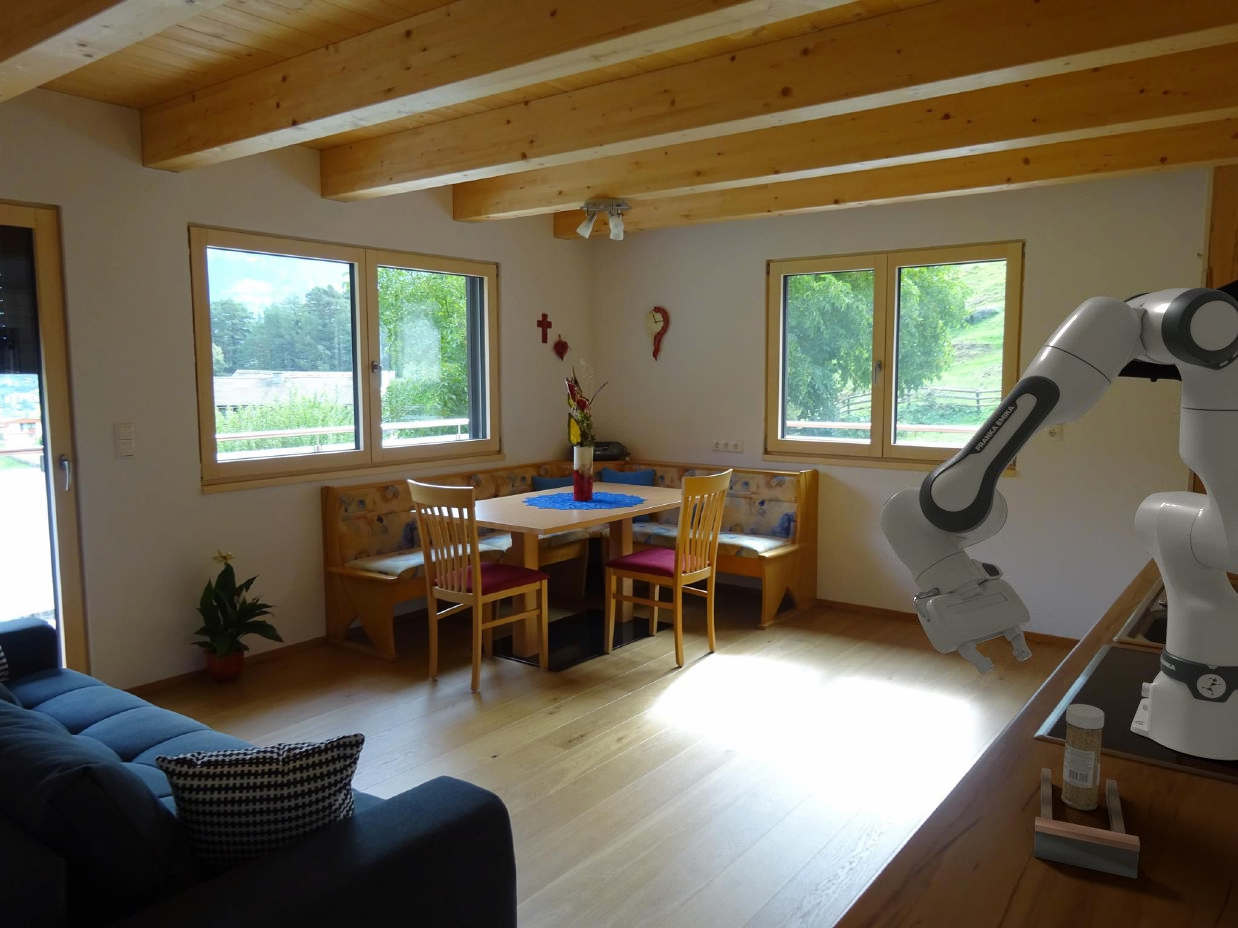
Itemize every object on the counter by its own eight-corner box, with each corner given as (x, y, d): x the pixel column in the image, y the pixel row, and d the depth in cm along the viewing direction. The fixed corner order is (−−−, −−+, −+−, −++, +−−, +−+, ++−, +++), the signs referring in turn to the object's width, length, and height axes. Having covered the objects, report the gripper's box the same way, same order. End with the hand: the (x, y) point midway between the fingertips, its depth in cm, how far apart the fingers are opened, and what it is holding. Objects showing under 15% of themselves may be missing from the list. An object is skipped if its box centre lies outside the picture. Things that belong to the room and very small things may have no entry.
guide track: (1034, 779, 131) (1036, 751, 131) (1122, 795, 127) (1124, 766, 126) (1033, 856, 111) (1035, 824, 111) (1137, 878, 107) (1140, 845, 106)
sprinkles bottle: (1104, 805, 124) (1111, 710, 122) (1085, 815, 121) (1092, 718, 120) (1072, 791, 128) (1078, 699, 126) (1053, 800, 125) (1059, 706, 123)
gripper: (922, 583, 130) (980, 669, 124) (1004, 563, 142) (1061, 641, 135) (895, 606, 134) (949, 690, 128) (977, 585, 146) (1031, 661, 139)
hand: (1007, 665), depth 132 cm, fingers open, 8 cm apart
